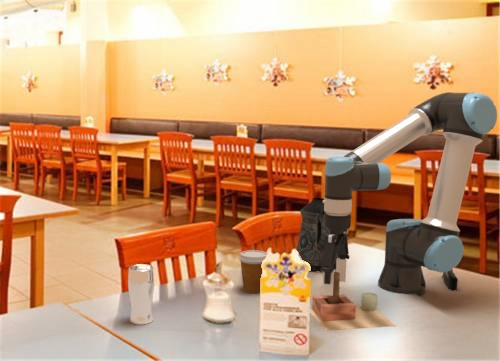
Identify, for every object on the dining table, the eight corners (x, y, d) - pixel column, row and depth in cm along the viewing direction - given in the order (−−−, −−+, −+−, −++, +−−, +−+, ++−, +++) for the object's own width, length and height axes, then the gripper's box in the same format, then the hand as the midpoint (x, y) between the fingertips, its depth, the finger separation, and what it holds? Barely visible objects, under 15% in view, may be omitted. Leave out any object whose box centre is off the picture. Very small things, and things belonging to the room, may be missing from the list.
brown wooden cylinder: (336, 312, 176) (337, 271, 175) (340, 315, 174) (341, 274, 172) (326, 312, 176) (327, 271, 174) (329, 316, 173) (331, 274, 171)
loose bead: (372, 305, 183) (373, 292, 182) (379, 310, 179) (379, 297, 178) (358, 306, 182) (359, 293, 181) (364, 311, 178) (365, 298, 177)
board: (372, 308, 183) (373, 292, 182) (396, 329, 167) (397, 311, 166) (307, 312, 178) (307, 295, 178) (325, 333, 163) (326, 315, 162)
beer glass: (158, 318, 172) (158, 265, 169) (146, 327, 165) (146, 272, 163) (136, 314, 174) (136, 262, 172) (123, 323, 167) (123, 269, 165)
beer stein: (316, 257, 238) (318, 193, 235) (353, 269, 223) (357, 201, 220) (283, 264, 228) (285, 197, 225) (321, 277, 213) (323, 205, 209)
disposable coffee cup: (265, 296, 192) (266, 258, 190) (235, 293, 194) (236, 256, 192) (270, 287, 201) (271, 251, 199) (241, 284, 203) (242, 248, 201)
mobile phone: (459, 277, 201) (449, 263, 215) (449, 277, 201) (440, 263, 216) (458, 292, 202) (448, 277, 216) (448, 291, 202) (439, 277, 217)
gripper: (336, 204, 183) (333, 274, 186) (310, 220, 161) (308, 299, 164) (361, 207, 181) (357, 277, 184) (339, 223, 158) (335, 303, 161)
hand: (334, 287), depth 174 cm, fingers open, 13 cm apart
